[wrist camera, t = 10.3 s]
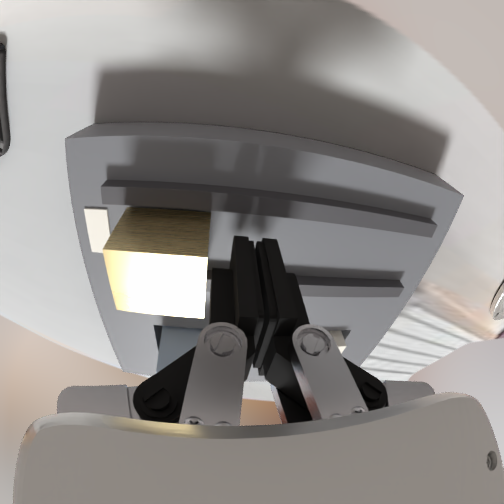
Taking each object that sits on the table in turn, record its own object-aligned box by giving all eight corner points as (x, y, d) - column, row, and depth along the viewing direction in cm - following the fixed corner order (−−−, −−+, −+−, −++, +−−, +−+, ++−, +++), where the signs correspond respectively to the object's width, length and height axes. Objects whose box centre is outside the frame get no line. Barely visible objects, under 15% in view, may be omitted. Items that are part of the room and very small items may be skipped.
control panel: (435, 174, 14) (471, 201, 11) (344, 349, 25) (354, 380, 22) (93, 123, 11) (56, 143, 8) (129, 342, 21) (121, 378, 18)
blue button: (225, 328, 17) (227, 376, 14) (221, 360, 19) (222, 402, 16) (162, 324, 16) (156, 372, 14) (167, 356, 19) (163, 398, 16)
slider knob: (211, 212, 11) (207, 257, 9) (206, 269, 13) (204, 318, 10) (127, 207, 11) (102, 249, 8) (133, 263, 12) (116, 309, 10)
